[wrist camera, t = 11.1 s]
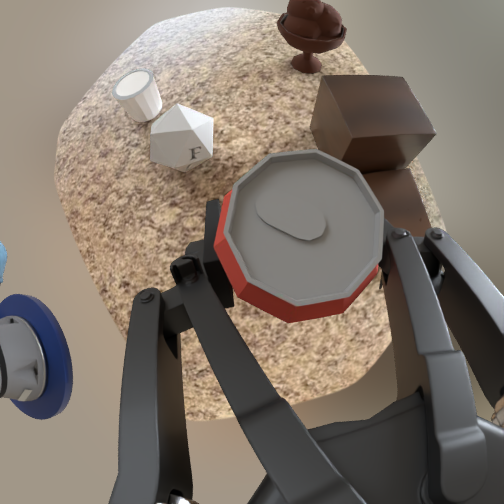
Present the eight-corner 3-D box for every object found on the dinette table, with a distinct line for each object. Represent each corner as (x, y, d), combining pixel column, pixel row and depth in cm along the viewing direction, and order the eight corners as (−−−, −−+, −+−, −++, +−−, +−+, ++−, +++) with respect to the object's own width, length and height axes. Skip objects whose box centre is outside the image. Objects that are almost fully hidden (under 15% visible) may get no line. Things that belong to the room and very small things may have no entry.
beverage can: (261, 216, 21) (260, 112, 9) (338, 254, 20) (419, 191, 9) (222, 288, 20) (169, 259, 8) (302, 329, 19) (357, 356, 8)
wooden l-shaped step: (309, 126, 38) (321, 75, 27) (378, 121, 38) (403, 76, 27) (352, 257, 34) (387, 236, 23) (424, 239, 34) (471, 216, 24)
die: (153, 184, 38) (168, 176, 29) (136, 127, 35) (148, 103, 26) (205, 166, 41) (235, 156, 33) (190, 113, 39) (215, 90, 30)
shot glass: (129, 131, 39) (112, 106, 32) (126, 104, 41) (111, 79, 34) (168, 115, 39) (156, 87, 33) (162, 89, 41) (151, 62, 34)
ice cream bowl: (290, 88, 40) (298, 15, 25) (267, 51, 42) (268, -14, 27) (346, 80, 40) (367, 15, 25) (319, 45, 42) (329, -15, 28)
